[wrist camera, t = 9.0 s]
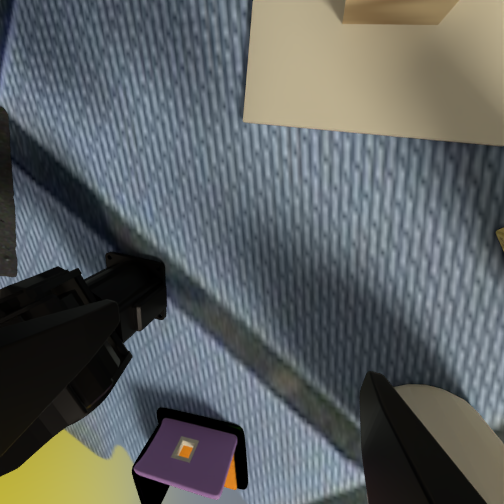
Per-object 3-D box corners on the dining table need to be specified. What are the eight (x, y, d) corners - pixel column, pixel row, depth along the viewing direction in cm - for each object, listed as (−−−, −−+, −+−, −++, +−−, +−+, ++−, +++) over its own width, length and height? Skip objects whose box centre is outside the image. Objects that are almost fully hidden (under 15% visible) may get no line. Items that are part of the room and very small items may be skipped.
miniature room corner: (157, 403, 33) (118, 460, 27) (244, 423, 30) (224, 493, 24) (171, 463, 37) (140, 524, 31) (249, 486, 34) (232, 560, 28)
